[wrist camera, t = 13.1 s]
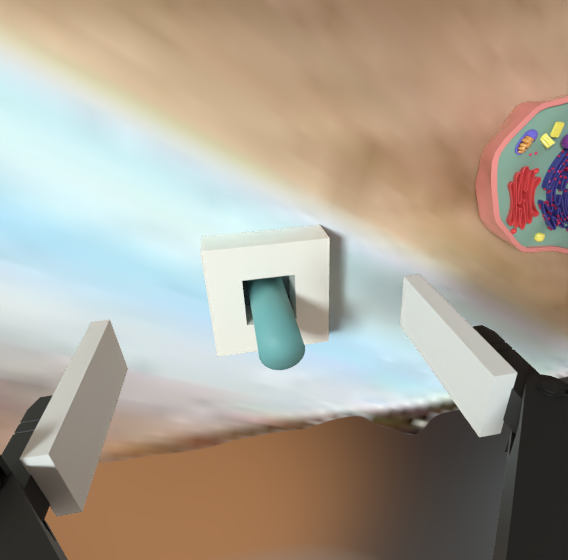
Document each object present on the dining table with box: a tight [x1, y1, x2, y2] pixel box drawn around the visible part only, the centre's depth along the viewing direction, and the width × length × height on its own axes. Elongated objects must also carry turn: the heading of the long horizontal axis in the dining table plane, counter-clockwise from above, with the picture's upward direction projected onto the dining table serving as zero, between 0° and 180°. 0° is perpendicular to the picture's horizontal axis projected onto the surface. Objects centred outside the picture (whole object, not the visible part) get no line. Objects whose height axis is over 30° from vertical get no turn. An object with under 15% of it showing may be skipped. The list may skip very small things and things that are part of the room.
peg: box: [247, 276, 305, 370], centre depth 42 cm, size 4×4×14 cm
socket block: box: [200, 225, 330, 357], centre depth 46 cm, size 14×14×4 cm
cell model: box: [475, 94, 568, 254], centre depth 42 cm, size 17×20×11 cm
